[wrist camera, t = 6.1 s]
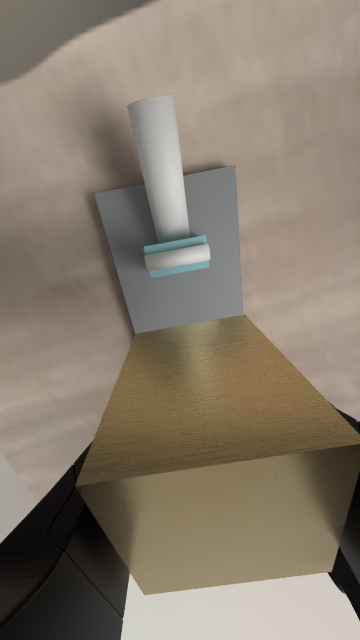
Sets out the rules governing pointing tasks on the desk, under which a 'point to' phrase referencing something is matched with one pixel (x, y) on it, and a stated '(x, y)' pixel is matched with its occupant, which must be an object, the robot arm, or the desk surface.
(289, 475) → the block
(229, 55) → the desk surface
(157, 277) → the coupling stand
